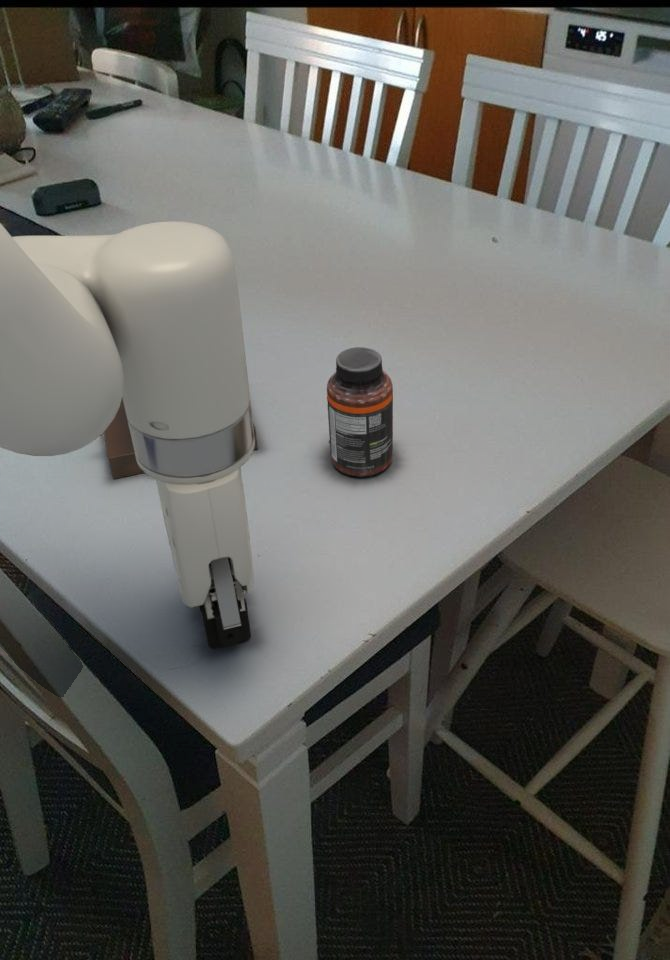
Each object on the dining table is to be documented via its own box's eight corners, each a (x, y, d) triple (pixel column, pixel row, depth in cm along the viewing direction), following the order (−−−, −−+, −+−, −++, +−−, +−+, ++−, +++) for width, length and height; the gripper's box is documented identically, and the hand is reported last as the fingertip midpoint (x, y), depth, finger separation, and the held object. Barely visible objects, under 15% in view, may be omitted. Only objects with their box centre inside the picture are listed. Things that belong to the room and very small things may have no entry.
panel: (97, 493, 75) (91, 471, 73) (88, 414, 85) (82, 392, 83) (261, 458, 78) (259, 436, 76) (233, 386, 88) (231, 365, 86)
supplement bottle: (352, 434, 81) (350, 333, 73) (404, 453, 78) (406, 351, 71) (318, 466, 77) (311, 363, 70) (371, 487, 74) (370, 383, 67)
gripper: (119, 373, 56) (162, 563, 67) (147, 525, 43) (193, 725, 55) (226, 355, 57) (250, 543, 69) (282, 496, 45) (300, 696, 57)
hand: (225, 622), depth 62 cm, fingers closed on chess pawn, 2 cm apart
